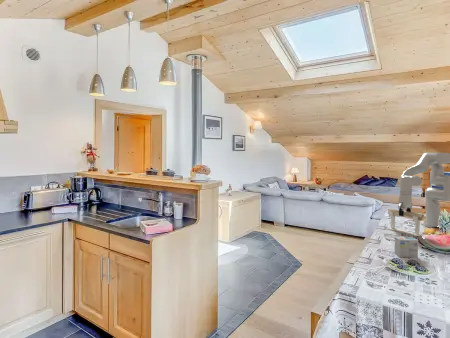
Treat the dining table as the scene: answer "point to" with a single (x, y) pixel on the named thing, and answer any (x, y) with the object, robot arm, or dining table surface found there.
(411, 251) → the light bulb box
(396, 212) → the rail
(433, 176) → the robot arm
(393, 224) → the rack
